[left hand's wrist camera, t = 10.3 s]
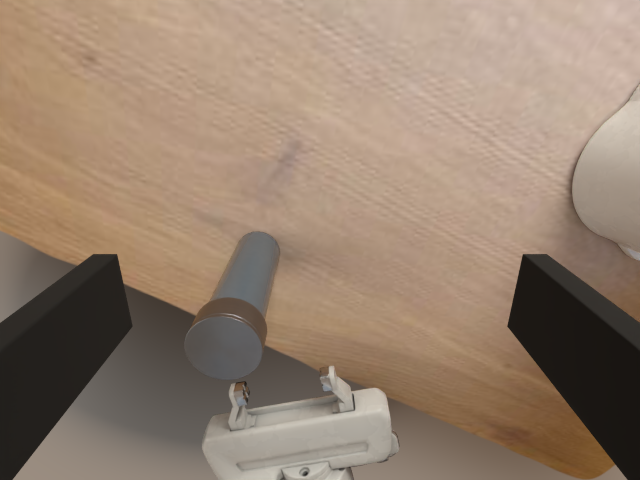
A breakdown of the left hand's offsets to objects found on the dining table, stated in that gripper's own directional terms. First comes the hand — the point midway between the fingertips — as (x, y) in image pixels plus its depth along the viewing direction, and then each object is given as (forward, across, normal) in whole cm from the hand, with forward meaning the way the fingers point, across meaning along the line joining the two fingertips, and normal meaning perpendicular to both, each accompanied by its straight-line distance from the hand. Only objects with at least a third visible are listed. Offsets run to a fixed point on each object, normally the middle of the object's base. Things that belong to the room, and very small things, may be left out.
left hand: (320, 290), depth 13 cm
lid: (+10, +6, +10) cm, 16 cm away
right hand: (+20, +4, +21) cm, 29 cm away
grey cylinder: (+26, +6, +10) cm, 29 cm away
